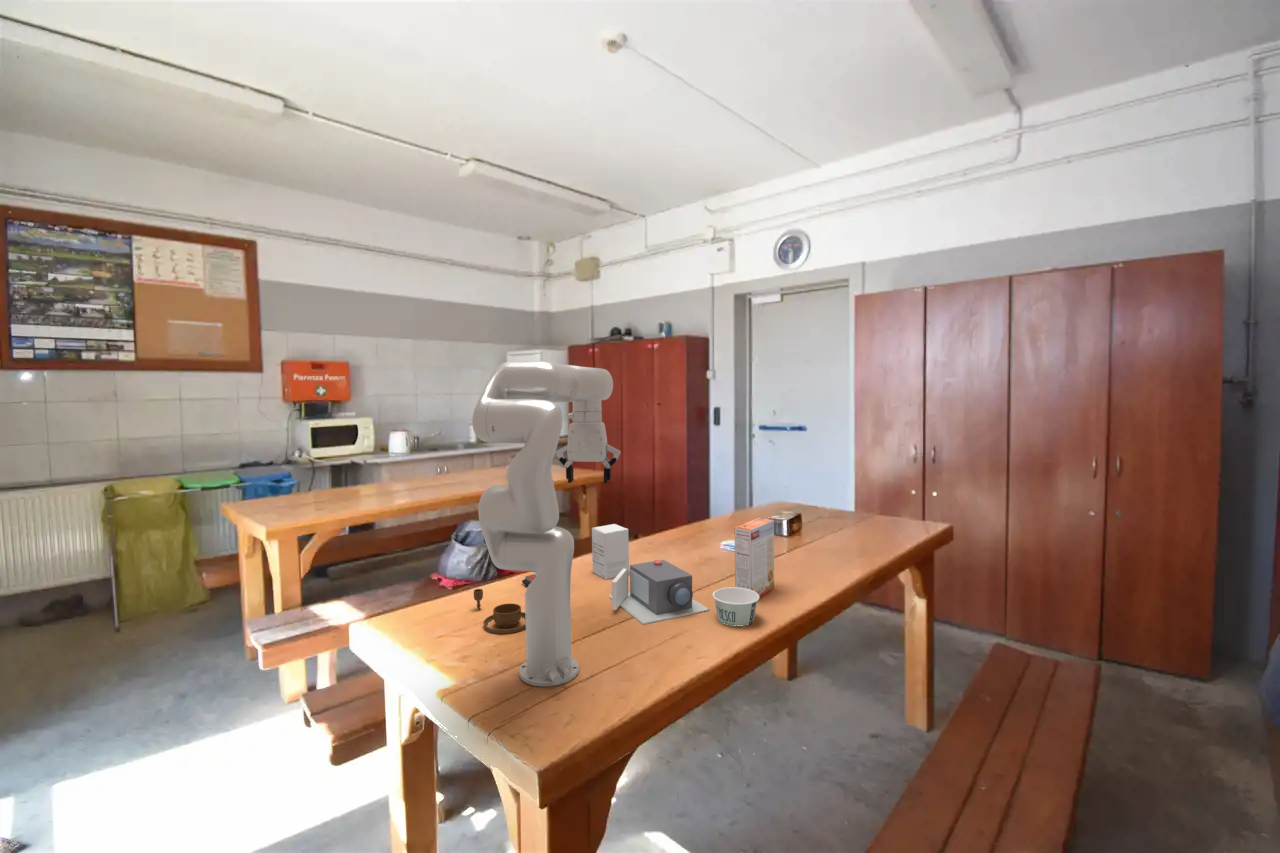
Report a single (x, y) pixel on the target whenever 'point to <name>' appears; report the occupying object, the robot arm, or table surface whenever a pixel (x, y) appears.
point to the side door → (619, 588)
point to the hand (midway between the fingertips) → (588, 482)
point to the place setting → (502, 615)
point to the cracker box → (755, 555)
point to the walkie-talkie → (528, 579)
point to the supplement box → (610, 550)
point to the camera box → (659, 593)
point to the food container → (735, 605)
